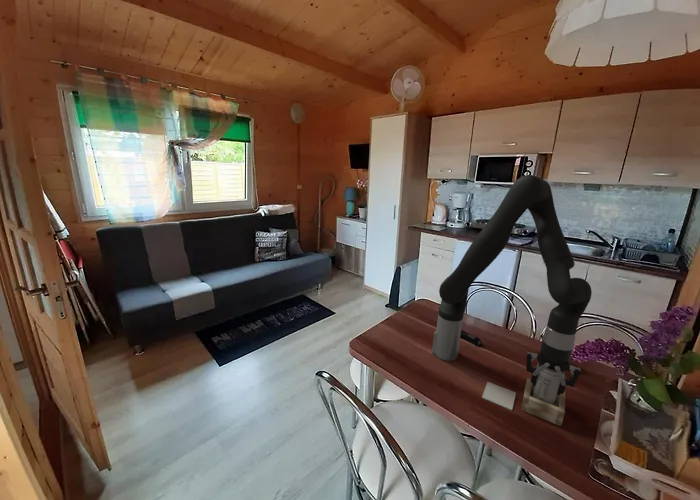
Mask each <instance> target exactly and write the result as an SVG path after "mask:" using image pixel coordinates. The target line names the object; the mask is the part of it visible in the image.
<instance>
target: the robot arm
mask: <svg viewBox="0 0 700 500" xmlns="http://www.w3.org/2000/svg"><path fill="white" fill-rule="evenodd" d="M553 196H554V195H553V192H552V187H551V185H550V184H549V182H548V181H547V180H545V179H543V178H541V177H538V176H537V175H534V174H527V175H523V176H521V177H519V178H517V180H515V181H514V182H513V184H512V185H511V186H510V188H509V189H508V191H507V192H506V195H505V196H504V198H503V200H502V201H501V203H500V204H499V206H498V208H497V209H496V210H495V212H494V214H493V215H492V216H491V217H490V219H489V220H488V221H487V223H486V224H485V225H484V227H483V228H482V229H481V230H480V232H479V233H478V234H477V236H476V237H475V238H474V240H473V241H472V242H471V244H470V245H469V247H468V248H467V250H466V252H465V253H464V255H463V257H462V258H461V260H460V262H459V263H458V265H457V266H456V268H455V269H454V270H453V272H452V273H451V274H450V275H449V276H448V277H446V278H445V279H444V280H443V281H442V282H441V284H440V286H439V289H438V290H439V291H438V292H439V298H440V299H441V301H440V304H439V307H438V313H437V323H436V329H435V331H434V334H433V339H432V340H433V342H432V349H431V354H433V355H435V356H436V358H437V359H441V360H443V361H448V362H449V361H455V360H457V358H458V355H459V347H460V341H461V337H460V335H461V330H463V329H462V327H463V320H464V314H465V312H466V308H467V303H468V295H469V288H470V287H471V286H472V284H473V283H474V282H475V281H476V279H478V277H479V276H480V275H481V274H482V273H483V272H484V271H485V270H486V269H487V268H488V267H490V265H491V264H492V263H493V262H494V261H495V260H496V259H497V257H499V255H500V254H501V252H502V251H503V250H504V249H505V248H506V246H507V244H508V242H509V240H510V237H511V235H512V232H513V230H514V227H515V226H516V223H517V222H518V221H519V219H520V218H521V217H522V216H523V214H524V213H526V211H527V210H528V211H529V213H530V215H531V217H532V218H533V222H534V226H535V230H536V237H537V245H538V250H539V252H540V255H541V258H542V261H543V263H544V265H545V269H546V280H547V281H546V282H547V289H548V293H549V295H550V297H551V299H553V301H554V302H556V303H557V304H558V305H556V306H554V307H553V308H552V309H551V310H550V312H549V316H548V319H547V325H546V327H545V329H544V333H543V336H542V342H541V345H540V350H539V352H538V353H533V352H532V351H531V350H528V351H527V353H526V354H527V355H526V365H525V366H526V367H525V370H526V372H528V373H530V374H531V378H530V379H531V383H533V386H535V384H536V380H537V374H539V372H541V371H542V370H544V369H545V368H549V369H552V370H555V371H556V372H558V373H557V374H558V376H559V378H560V385H559V389H558V393H557V394H558V395H560V394H563V393H564V391H565V389H566V387H567V386H569V387H570V388H572V387H574V386H575V385H576V383H577V381H578V378H579V377H580V374H581V367H580V366H578V365H576V366H574V365H571V363H570V360H571V356H572V352H573V348H574V347H575V341H576V333H577V328H578V325H579V322H580V319H581V317H582V316H583V314H584V313H585V311H586V309H587V307H588V305H589V303H590V301H591V299H592V287H591V285H590V283H589V282H588V281H587V280H585V278H581V277H572V276H571V272H570V271H571V269H572V268H573V269H574V267H575V260H574V257H573V254H572V252H571V250H570V248H569V244H568V242H567V241H566V238H565V235H564V233H563V230H562V228H561V226H560V222H559V221H560V220H559V218H558V214H557V212H556V208H555V202H554V198H553ZM535 359H537V362H538V363H537V365H536V366H535V367H533V366H532V364H533V362H532V361H535ZM568 370H570V373H571V374H570V376H569V378H568V379H567V378H566V376H565V372H567V371H568Z"/></svg>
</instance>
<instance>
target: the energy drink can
mask: <svg viewBox="0 0 700 500" xmlns="http://www.w3.org/2000/svg"><path fill="white" fill-rule="evenodd" d="M557 373H558V372H556V371H555V370H552V369H549V368H545V369H544V370H542V371H541V372H539V374H537V380H536V384H535V387H534V391H533V395H532V396H531V397H534V398H536V399H539V400H541V401H544V402H547V403H549V404H552V405H554V406H555V401H556V397H557V393H558V389H559V385H560V378H559V376H558V374H557Z"/></svg>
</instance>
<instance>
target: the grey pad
mask: <svg viewBox="0 0 700 500" xmlns="http://www.w3.org/2000/svg"><path fill="white" fill-rule="evenodd" d="M516 396H517V392H515V391H512V390H510V389H507V388H505V387H502V386H499V385H498V384H495V383H492V382H489V381H487V382H486V385H485V388H484V390H483V393H482V396H481V399H483V400H484V401H485V400H486V401H488V402H490V403H493V404H495V405H498V407H499V406H500V407H502V408H504V409H506V410H509V411H513V408H514V405H515V399H516Z"/></svg>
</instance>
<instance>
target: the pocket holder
mask: <svg viewBox="0 0 700 500" xmlns="http://www.w3.org/2000/svg"><path fill="white" fill-rule="evenodd" d="M534 387H535V386H533V383H531V378H529V377H527V379H526V382H525V388H524V392H523V396H522V400H521V407H520V410H521V411H523V412H525V413H527V414H530V415H532V416H534V417H538V418H540V419H542V420H544V421H548V422H549V423H551V424H555V425H557V426H559V427H562V424H563V421H564V417H565V415H566V414H565V413H566V391H565V390H564V393H563V394H560V395H558V394H557V397H556V401H555V404H554V405H552V404H549V403H547V402H544V401H541V400H539V399H536V398H534V397H532V395H533V391H534Z"/></svg>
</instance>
